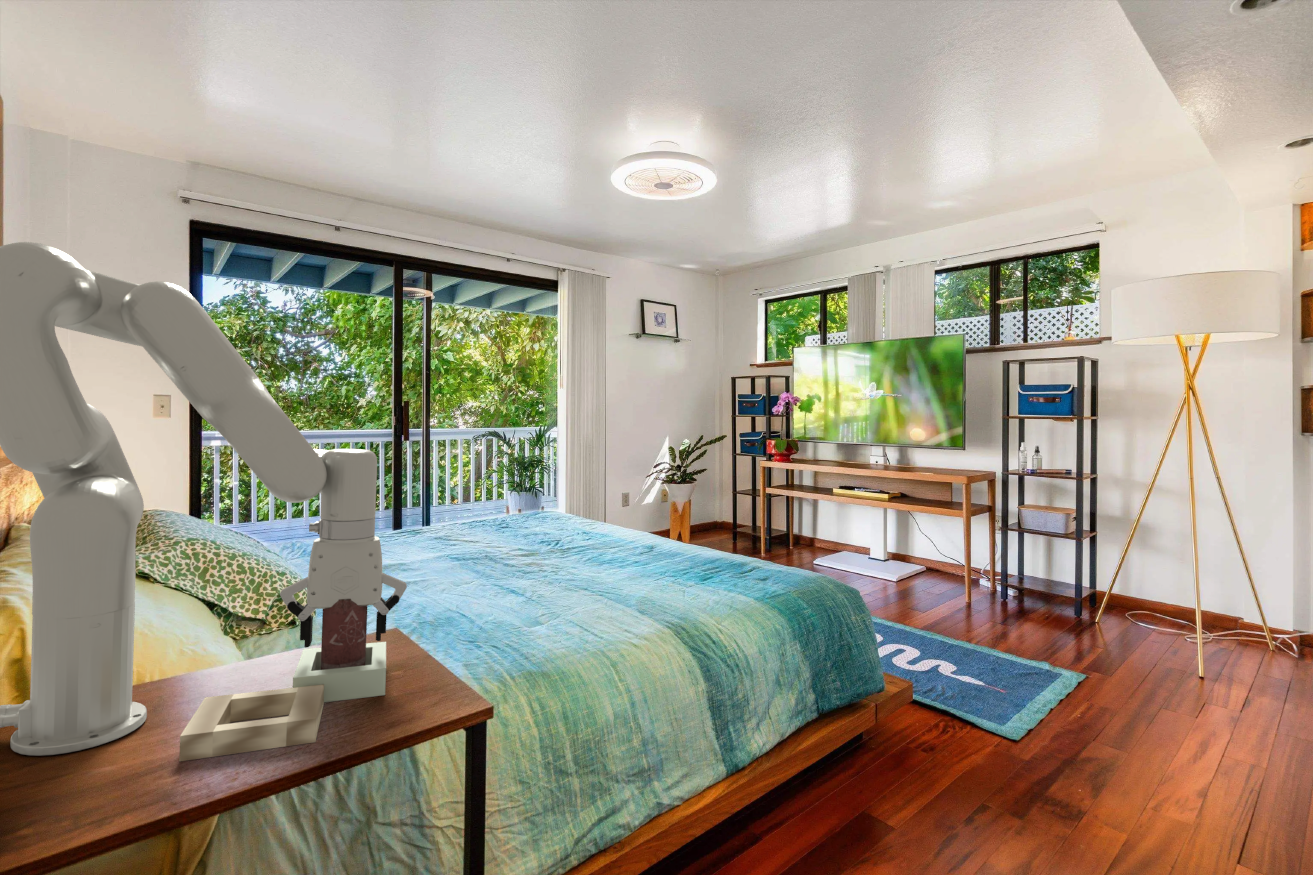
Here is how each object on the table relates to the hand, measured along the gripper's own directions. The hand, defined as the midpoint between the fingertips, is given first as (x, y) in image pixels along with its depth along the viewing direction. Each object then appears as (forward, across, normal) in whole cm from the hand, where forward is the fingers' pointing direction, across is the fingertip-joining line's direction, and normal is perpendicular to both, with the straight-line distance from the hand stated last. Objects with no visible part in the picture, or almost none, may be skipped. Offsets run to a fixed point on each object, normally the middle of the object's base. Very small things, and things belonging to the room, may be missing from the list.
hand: (344, 641), depth 96 cm
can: (+7, 0, 0) cm, 7 cm away
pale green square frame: (+7, 0, 0) cm, 7 cm away
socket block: (+7, -9, -12) cm, 17 cm away
